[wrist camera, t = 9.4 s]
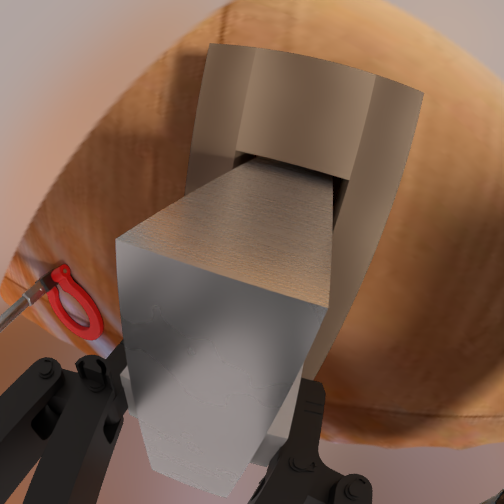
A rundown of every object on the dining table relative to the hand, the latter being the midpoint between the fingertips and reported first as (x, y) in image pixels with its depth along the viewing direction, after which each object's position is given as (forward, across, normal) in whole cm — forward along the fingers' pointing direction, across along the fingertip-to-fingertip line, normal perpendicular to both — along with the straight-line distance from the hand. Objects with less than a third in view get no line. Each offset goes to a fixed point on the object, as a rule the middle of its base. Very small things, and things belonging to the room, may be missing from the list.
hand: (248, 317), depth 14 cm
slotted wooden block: (+7, 0, 0) cm, 7 cm away
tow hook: (+7, +20, +13) cm, 25 cm away
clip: (+6, 0, 0) cm, 6 cm away
